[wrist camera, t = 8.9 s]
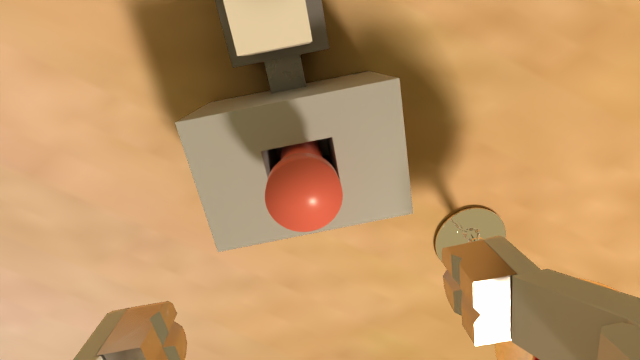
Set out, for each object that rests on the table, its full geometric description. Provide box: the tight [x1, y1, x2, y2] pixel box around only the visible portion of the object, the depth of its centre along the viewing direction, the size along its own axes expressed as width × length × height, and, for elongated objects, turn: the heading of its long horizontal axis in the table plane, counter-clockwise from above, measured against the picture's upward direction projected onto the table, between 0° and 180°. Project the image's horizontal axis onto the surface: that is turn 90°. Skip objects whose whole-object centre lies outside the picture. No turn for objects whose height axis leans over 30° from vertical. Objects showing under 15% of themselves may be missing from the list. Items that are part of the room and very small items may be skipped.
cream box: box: [215, 0, 330, 68], centre depth 20 cm, size 6×6×9 cm
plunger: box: [265, 140, 343, 232], centre depth 20 cm, size 4×4×9 cm
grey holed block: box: [175, 71, 413, 252], centre depth 23 cm, size 12×8×8 cm, turn 100°
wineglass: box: [435, 207, 618, 360], centre depth 23 cm, size 8×8×18 cm
